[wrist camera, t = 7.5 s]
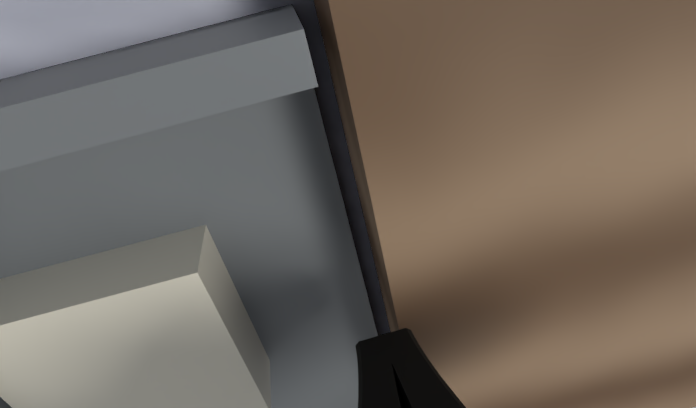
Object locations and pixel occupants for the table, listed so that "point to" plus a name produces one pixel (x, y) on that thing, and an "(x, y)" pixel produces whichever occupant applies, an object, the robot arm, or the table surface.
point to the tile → (132, 331)
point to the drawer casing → (529, 190)
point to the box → (197, 183)
